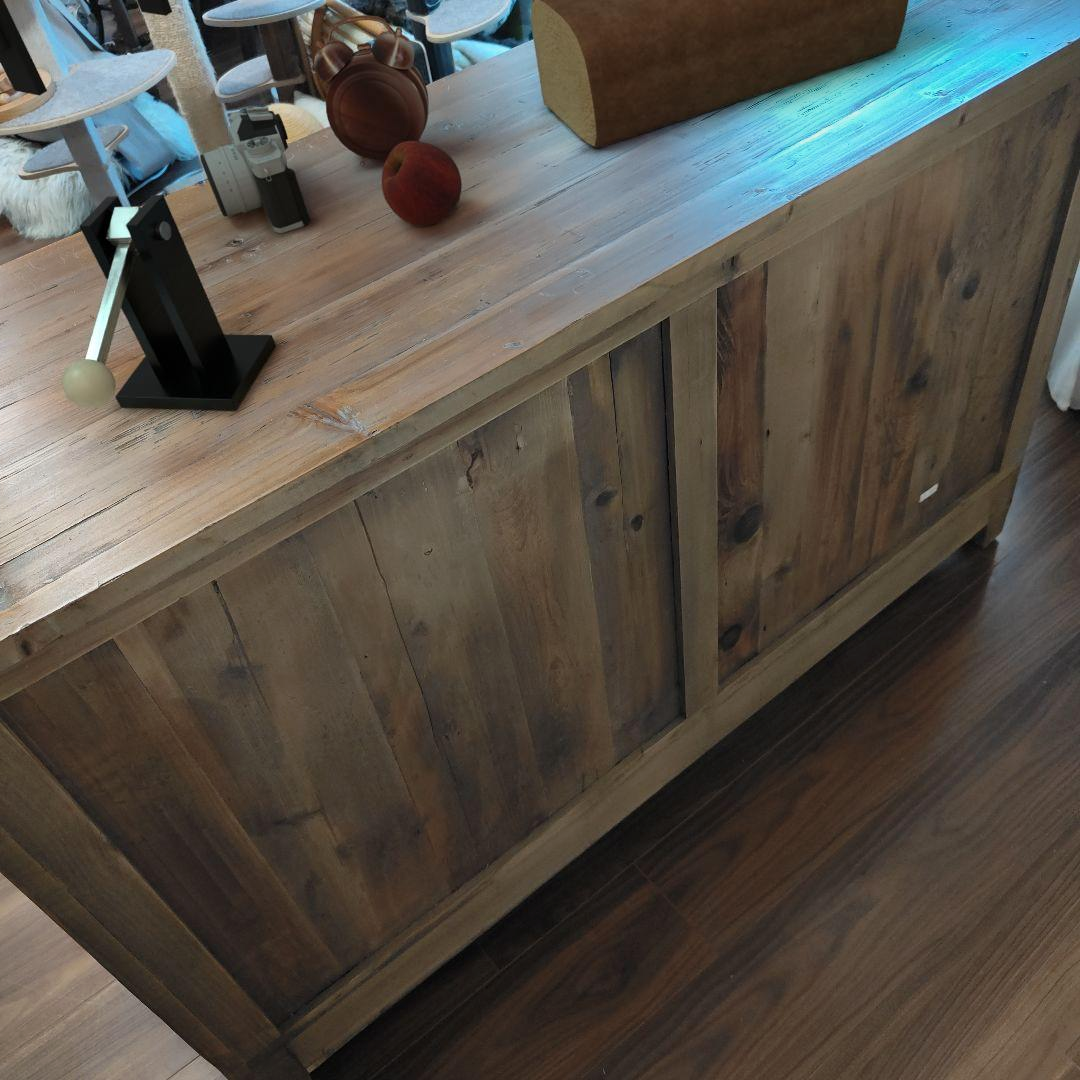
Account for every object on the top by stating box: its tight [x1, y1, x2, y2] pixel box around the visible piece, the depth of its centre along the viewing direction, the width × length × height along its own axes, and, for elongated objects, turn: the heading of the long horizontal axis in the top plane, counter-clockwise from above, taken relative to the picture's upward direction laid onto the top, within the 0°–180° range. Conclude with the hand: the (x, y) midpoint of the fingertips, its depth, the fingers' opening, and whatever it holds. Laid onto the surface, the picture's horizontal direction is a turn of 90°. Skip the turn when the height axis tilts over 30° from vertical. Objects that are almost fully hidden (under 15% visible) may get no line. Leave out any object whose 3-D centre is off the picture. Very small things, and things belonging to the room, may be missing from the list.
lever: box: [61, 205, 142, 410], centre depth 76 cm, size 16×4×4 cm, turn 169°
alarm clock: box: [313, 14, 430, 167], centre depth 106 cm, size 11×5×15 cm, turn 88°
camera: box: [199, 106, 311, 234], centre depth 104 cm, size 16×9×10 cm, turn 23°
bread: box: [530, 0, 909, 149], centre depth 109 cm, size 16×39×13 cm, turn 113°
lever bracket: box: [79, 194, 277, 412], centre depth 82 cm, size 9×11×16 cm
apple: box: [381, 140, 463, 227], centre depth 98 cm, size 7×8×8 cm
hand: (97, 50), depth 77 cm, fingers open, 13 cm apart
